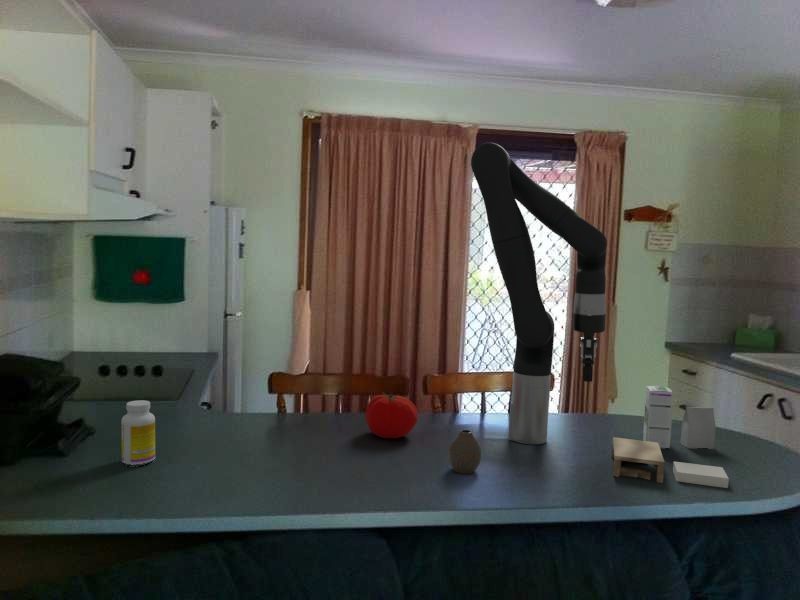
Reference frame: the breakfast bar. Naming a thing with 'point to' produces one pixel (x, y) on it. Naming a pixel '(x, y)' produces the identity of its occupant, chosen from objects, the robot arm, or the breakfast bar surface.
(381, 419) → the tomato
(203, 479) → the breakfast bar surface
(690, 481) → the tile
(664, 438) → the syrup box
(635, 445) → the small tan table
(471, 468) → the vase
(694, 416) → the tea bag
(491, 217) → the robot arm
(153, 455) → the supplement bottle
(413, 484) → the breakfast bar surface
